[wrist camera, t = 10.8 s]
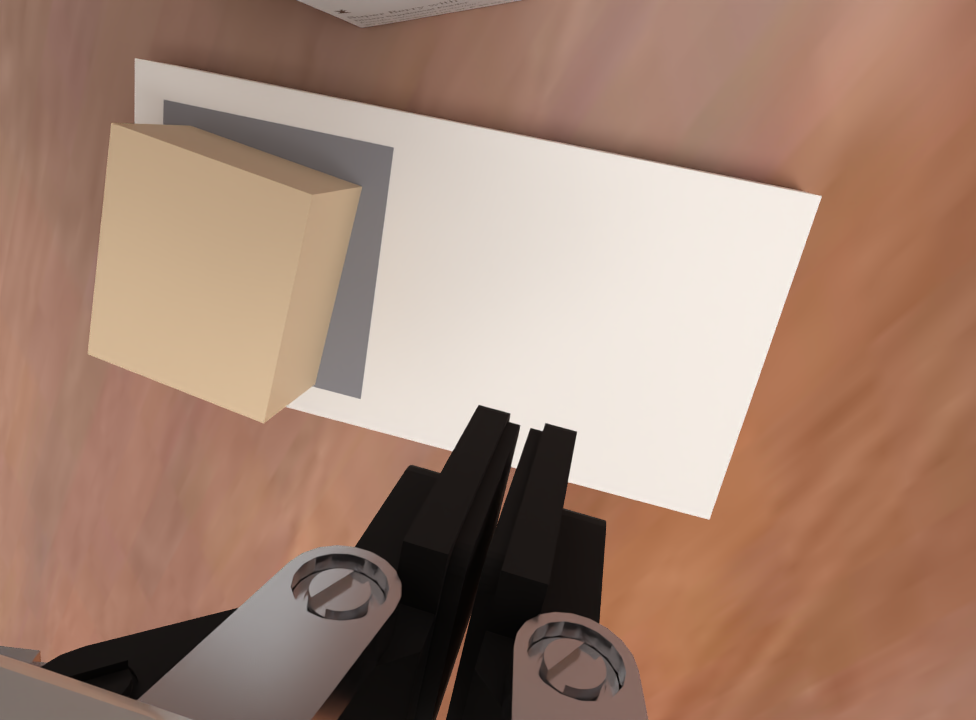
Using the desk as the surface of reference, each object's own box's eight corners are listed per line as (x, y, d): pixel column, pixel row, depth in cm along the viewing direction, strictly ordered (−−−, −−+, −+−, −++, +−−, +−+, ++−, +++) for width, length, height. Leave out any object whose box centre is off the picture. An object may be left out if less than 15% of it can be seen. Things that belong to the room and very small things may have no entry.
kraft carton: (190, 125, 31) (111, 122, 26) (362, 186, 30) (312, 194, 25) (161, 325, 34) (87, 354, 29) (315, 384, 33) (263, 423, 29)
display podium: (177, 65, 33) (134, 58, 30) (803, 191, 29) (821, 196, 26) (169, 349, 38) (132, 366, 35) (702, 488, 34) (709, 519, 31)
